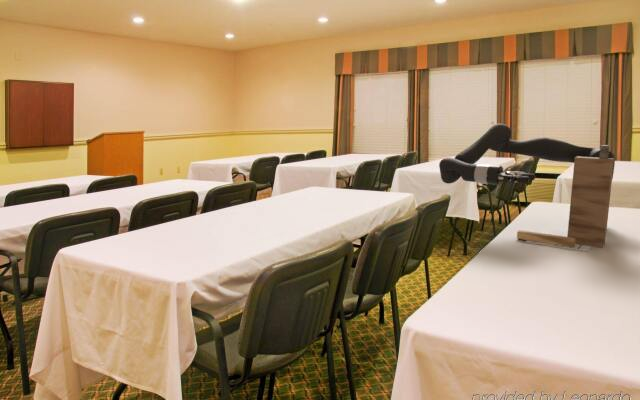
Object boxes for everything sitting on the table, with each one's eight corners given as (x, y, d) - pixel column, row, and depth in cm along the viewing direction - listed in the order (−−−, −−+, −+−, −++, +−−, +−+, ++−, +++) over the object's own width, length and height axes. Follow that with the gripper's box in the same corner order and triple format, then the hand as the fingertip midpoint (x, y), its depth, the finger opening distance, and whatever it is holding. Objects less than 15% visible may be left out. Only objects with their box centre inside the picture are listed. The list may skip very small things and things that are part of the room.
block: (519, 237, 199) (519, 230, 198) (575, 245, 187) (576, 238, 186) (516, 238, 197) (517, 231, 196) (573, 247, 185) (574, 239, 184)
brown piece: (569, 239, 197) (578, 144, 191) (605, 244, 190) (615, 145, 184) (566, 242, 193) (575, 144, 186) (602, 247, 186) (613, 146, 179)
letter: (530, 238, 199) (530, 237, 199) (590, 247, 186) (591, 246, 186) (524, 242, 192) (524, 241, 192) (586, 251, 180) (586, 250, 180)
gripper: (493, 181, 208) (535, 186, 198) (481, 186, 196) (525, 191, 187) (495, 163, 206) (537, 166, 197) (483, 166, 195) (527, 170, 185)
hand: (531, 178), depth 192 cm, fingers open, 8 cm apart
